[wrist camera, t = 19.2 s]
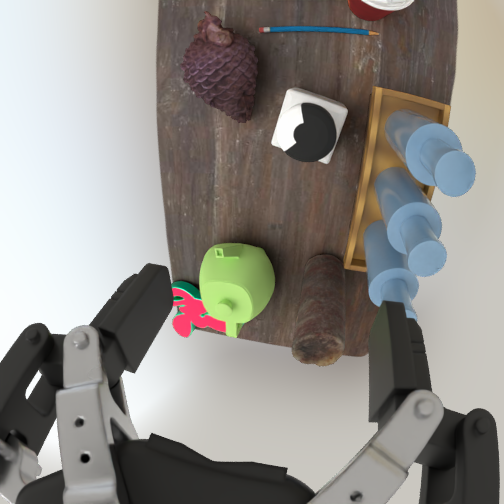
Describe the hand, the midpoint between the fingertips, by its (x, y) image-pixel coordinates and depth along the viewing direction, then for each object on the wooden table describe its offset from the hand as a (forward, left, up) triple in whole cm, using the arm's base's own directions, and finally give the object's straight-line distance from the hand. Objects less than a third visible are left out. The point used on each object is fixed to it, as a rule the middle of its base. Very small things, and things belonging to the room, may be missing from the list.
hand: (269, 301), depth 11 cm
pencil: (-14, +5, -37) cm, 40 cm away
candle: (+25, -3, -37) cm, 45 cm away
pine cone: (-12, -10, -37) cm, 40 cm away
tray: (+8, +9, -37) cm, 39 cm away
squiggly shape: (+33, -30, -36) cm, 57 cm away
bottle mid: (+8, +9, -29) cm, 31 cm away
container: (-1, 0, -37) cm, 37 cm away
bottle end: (+15, +7, -29) cm, 33 cm away
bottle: (+1, +12, -29) cm, 31 cm away
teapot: (+22, -18, -37) cm, 47 cm away
